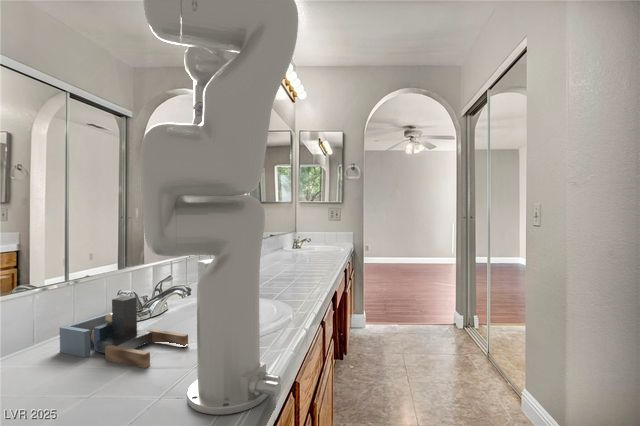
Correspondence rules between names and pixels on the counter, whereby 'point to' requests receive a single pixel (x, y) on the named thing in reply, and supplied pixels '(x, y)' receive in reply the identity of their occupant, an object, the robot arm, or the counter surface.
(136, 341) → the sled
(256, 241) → the robot arm
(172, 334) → the rail
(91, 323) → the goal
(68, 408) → the counter surface
